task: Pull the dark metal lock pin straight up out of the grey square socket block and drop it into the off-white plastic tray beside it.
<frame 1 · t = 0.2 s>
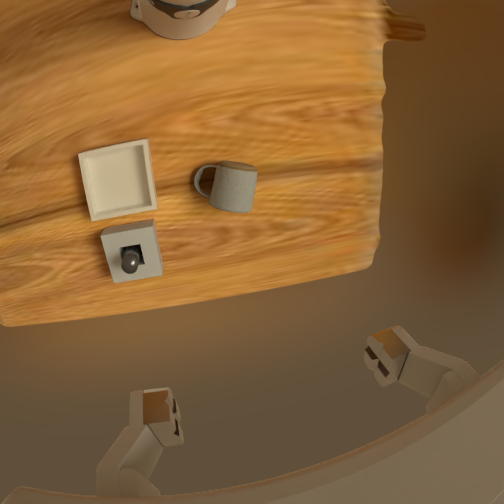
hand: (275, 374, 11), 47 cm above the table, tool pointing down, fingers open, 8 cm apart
tray: (119, 177, 50), on the table
lock pin: (131, 256, 53), in the grey square socket block
grey square socket block: (134, 247, 56), on the table
ceramic mug: (223, 181, 55), on the table
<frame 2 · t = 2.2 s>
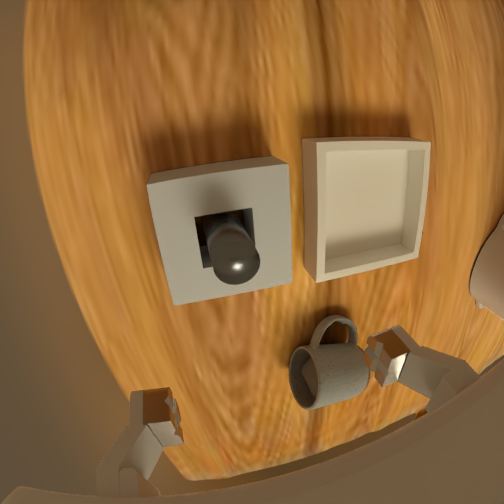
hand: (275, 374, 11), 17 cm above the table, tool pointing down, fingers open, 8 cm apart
tray: (361, 199, 28), on the table
lock pin: (226, 238, 22), in the grey square socket block
grey square socket block: (219, 220, 26), on the table
ceramic mug: (319, 345, 36), on the table
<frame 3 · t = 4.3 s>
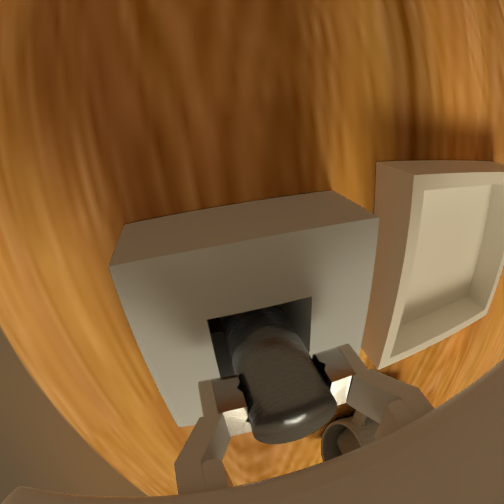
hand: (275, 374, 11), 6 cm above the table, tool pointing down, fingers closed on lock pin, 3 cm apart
tray: (437, 248, 18), on the table
lock pin: (264, 346, 12), in the grey square socket block, touching gripper
grey square socket block: (243, 295, 16), on the table
ceramic mug: (358, 411, 26), on the table
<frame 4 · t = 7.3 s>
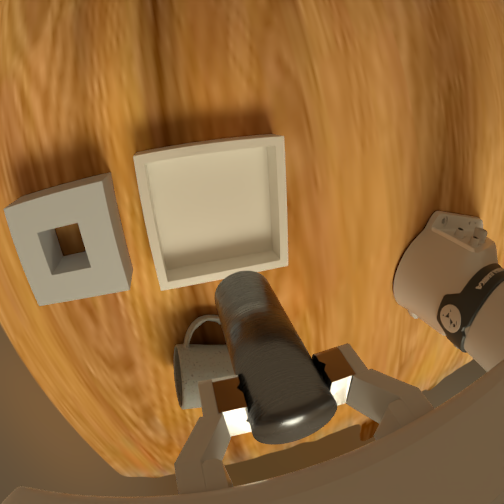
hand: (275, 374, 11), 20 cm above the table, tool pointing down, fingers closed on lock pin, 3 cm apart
tray: (213, 206, 28), on the table
lock pin: (263, 346, 12), point 19 cm above the table, touching gripper
grey square socket block: (74, 233, 26), on the table
ceramic mug: (203, 345, 36), on the table
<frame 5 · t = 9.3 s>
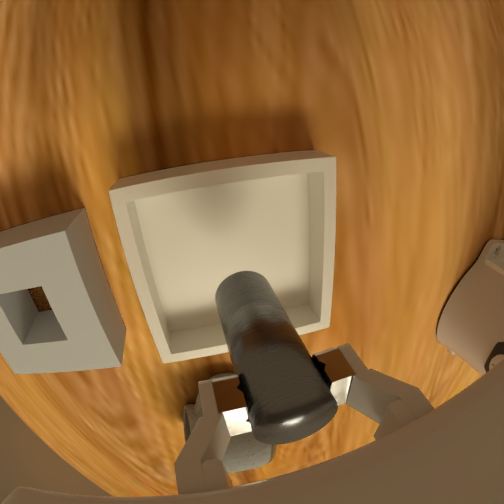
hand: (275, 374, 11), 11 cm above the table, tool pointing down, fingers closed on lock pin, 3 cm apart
tray: (230, 251, 21), on the table
lock pin: (264, 347, 12), point 10 cm above the table, touching gripper
grey square socket block: (48, 285, 18), on the table
ceramic mug: (219, 401, 28), on the table
when the fingers open (9 cm above the table, at t = 10.4 s): lock pin drops 4 cm and tips over, resting on tray.
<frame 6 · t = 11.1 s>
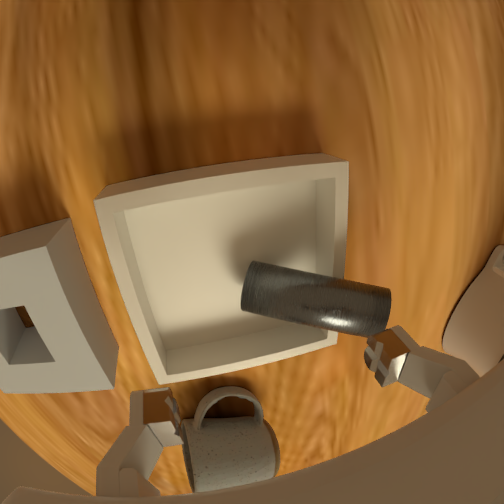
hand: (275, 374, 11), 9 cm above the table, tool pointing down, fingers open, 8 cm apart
tray: (230, 264, 19), on the table
lock pin: (316, 300, 17), in the tray, tilted 60°
grey square socket block: (34, 301, 16), on the table
ceramic mug: (218, 415, 26), on the table
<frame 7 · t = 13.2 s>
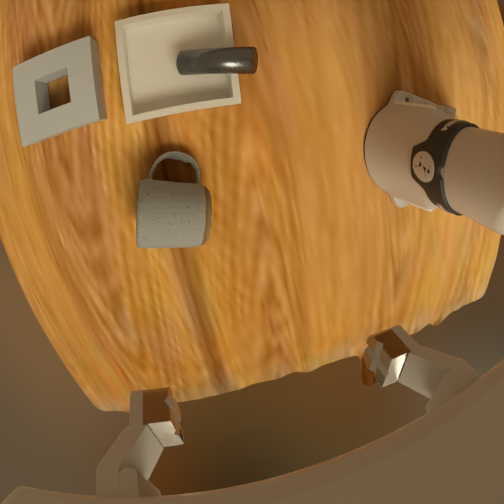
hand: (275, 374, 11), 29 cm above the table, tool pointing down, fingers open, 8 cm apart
tray: (176, 62, 29), on the table
lock pin: (216, 60, 26), in the tray, tilted 60°
grey square socket block: (64, 92, 26), on the table
ceramic mug: (170, 194, 36), on the table
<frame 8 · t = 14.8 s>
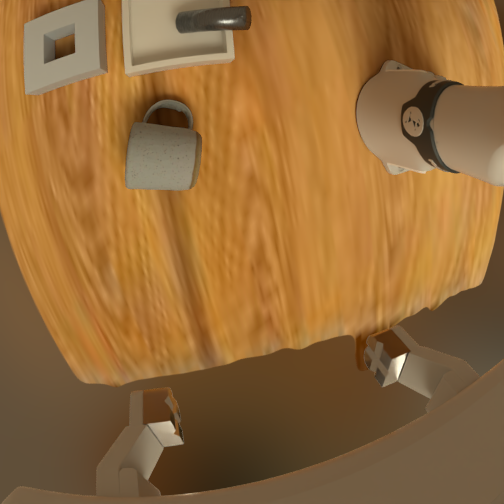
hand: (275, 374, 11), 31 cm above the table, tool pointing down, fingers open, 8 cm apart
tray: (176, 24, 28), on the table
lock pin: (213, 19, 26), in the tray, tilted 60°
grey square socket block: (69, 49, 25), on the table
ceramic mug: (163, 142, 35), on the table
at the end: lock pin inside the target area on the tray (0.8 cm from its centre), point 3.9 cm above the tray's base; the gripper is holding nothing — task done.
